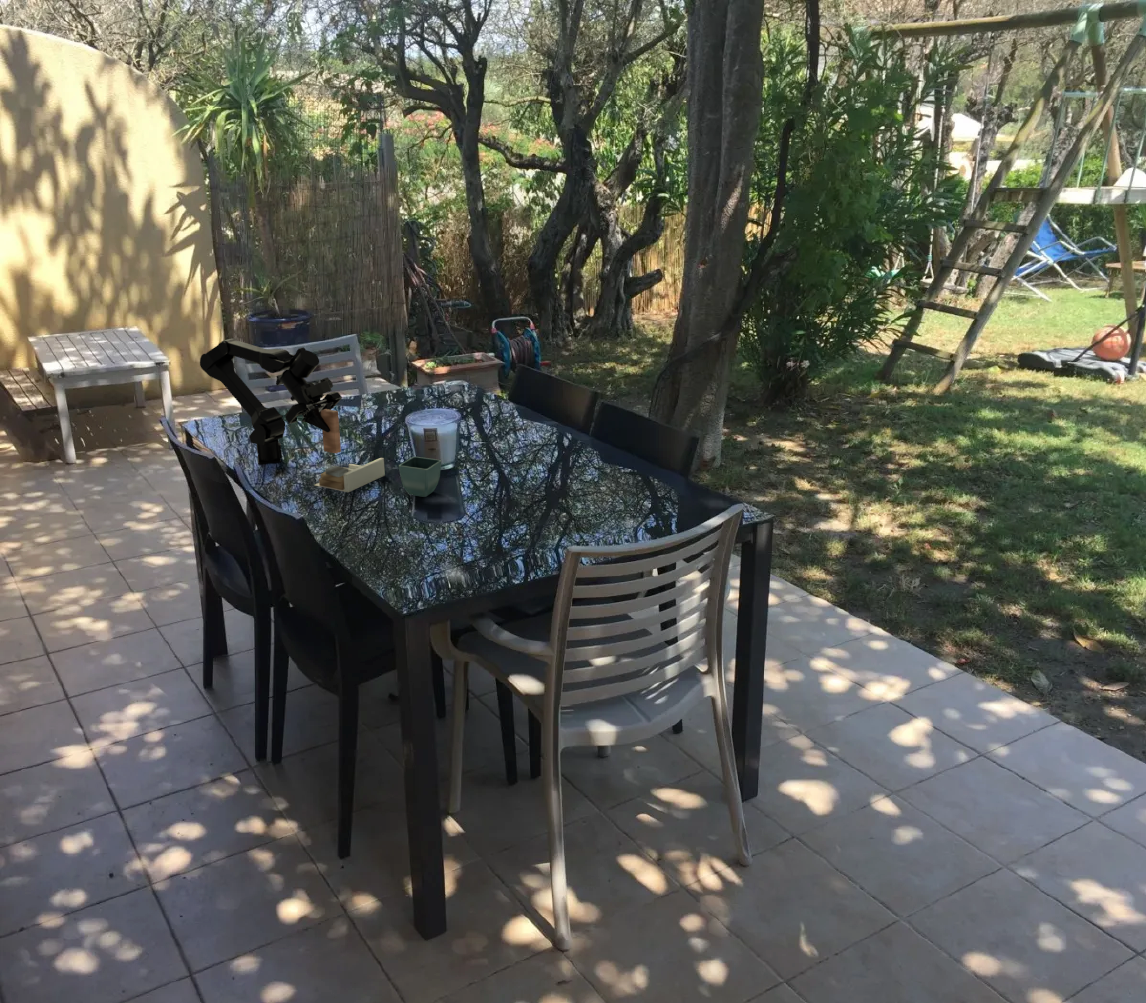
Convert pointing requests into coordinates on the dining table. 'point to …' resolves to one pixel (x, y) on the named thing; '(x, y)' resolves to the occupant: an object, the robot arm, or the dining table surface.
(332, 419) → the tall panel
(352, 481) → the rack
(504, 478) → the dining table surface
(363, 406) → the dining table surface
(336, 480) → the offcut stack
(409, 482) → the flower pot
